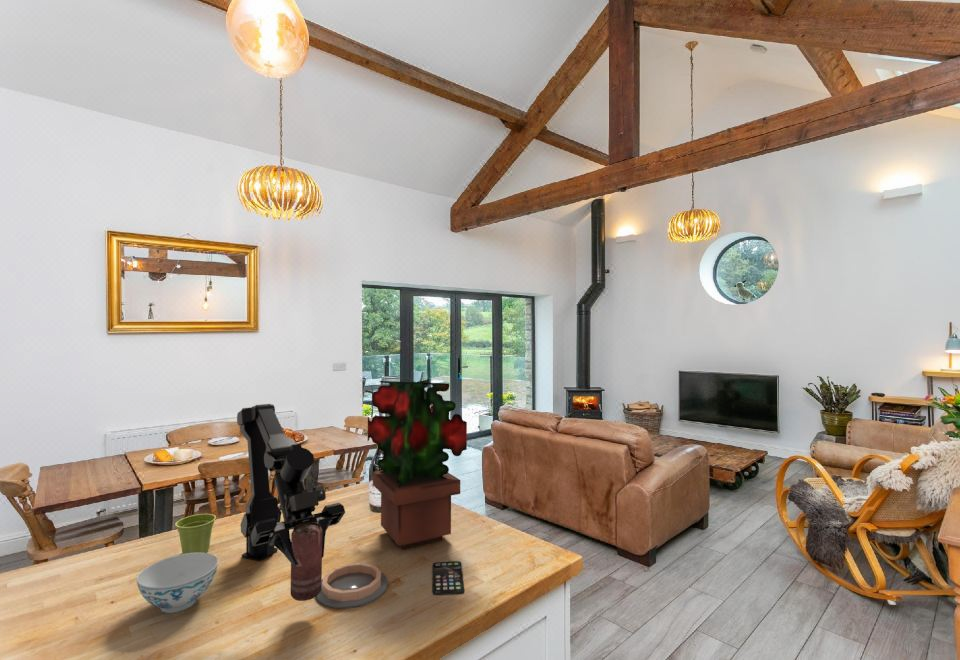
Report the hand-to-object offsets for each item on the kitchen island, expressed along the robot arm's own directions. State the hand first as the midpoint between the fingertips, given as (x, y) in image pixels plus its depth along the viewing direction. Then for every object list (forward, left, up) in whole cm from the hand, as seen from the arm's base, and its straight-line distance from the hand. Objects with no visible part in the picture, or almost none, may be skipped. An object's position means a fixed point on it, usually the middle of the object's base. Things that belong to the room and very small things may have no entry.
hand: (309, 561), depth 98 cm
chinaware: (-30, -5, -12) cm, 33 cm away
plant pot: (-48, +14, -12) cm, 51 cm away
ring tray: (+2, +13, -12) cm, 17 cm away
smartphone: (+21, +25, -12) cm, 35 cm away
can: (-1, +1, -7) cm, 8 cm away
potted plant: (+3, +43, -12) cm, 44 cm away
